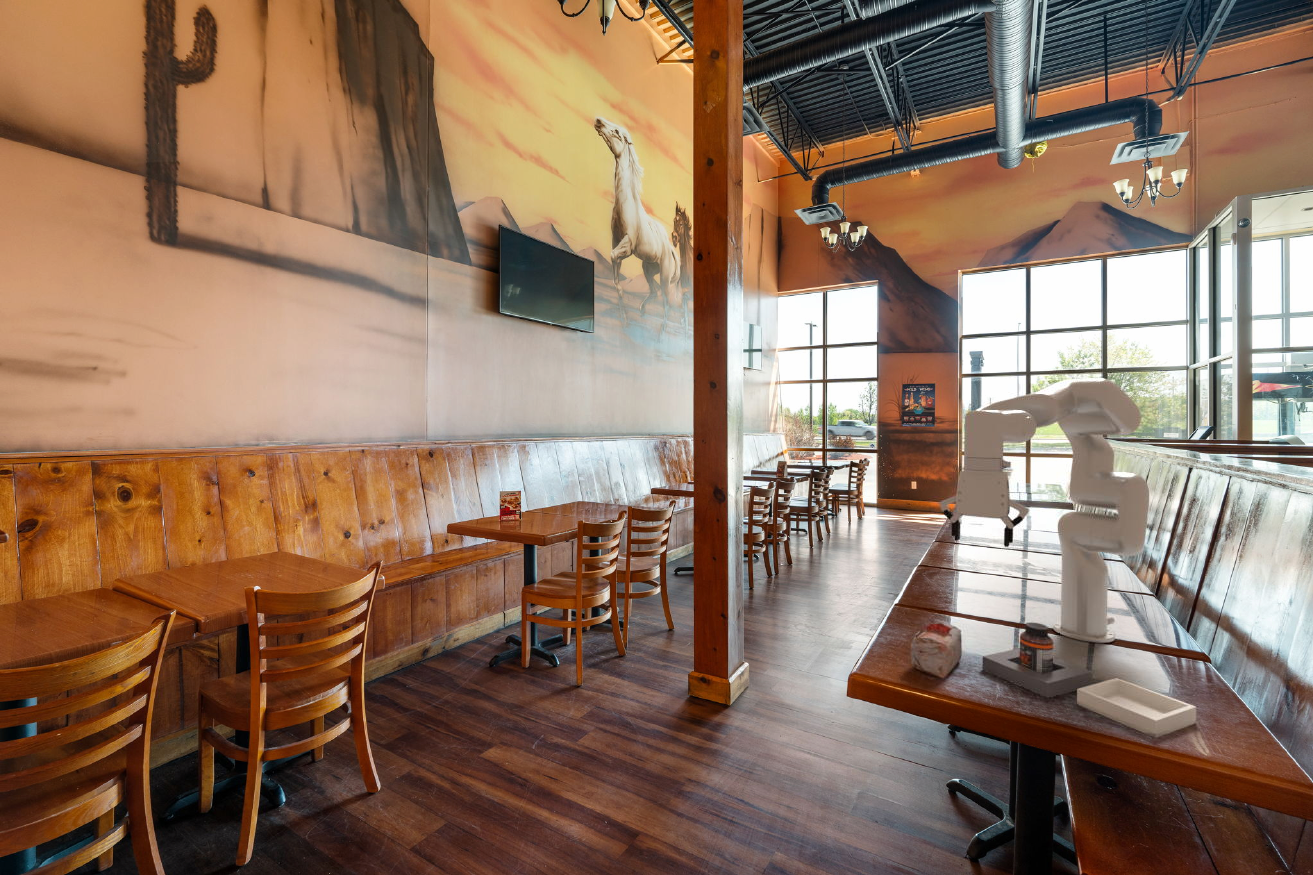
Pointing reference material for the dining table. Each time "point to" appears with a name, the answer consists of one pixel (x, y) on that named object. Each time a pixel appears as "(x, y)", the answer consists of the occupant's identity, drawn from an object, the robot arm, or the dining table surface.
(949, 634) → the food item
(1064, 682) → the frame
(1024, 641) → the supplement bottle
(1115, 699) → the tray
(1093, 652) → the dining table surface
